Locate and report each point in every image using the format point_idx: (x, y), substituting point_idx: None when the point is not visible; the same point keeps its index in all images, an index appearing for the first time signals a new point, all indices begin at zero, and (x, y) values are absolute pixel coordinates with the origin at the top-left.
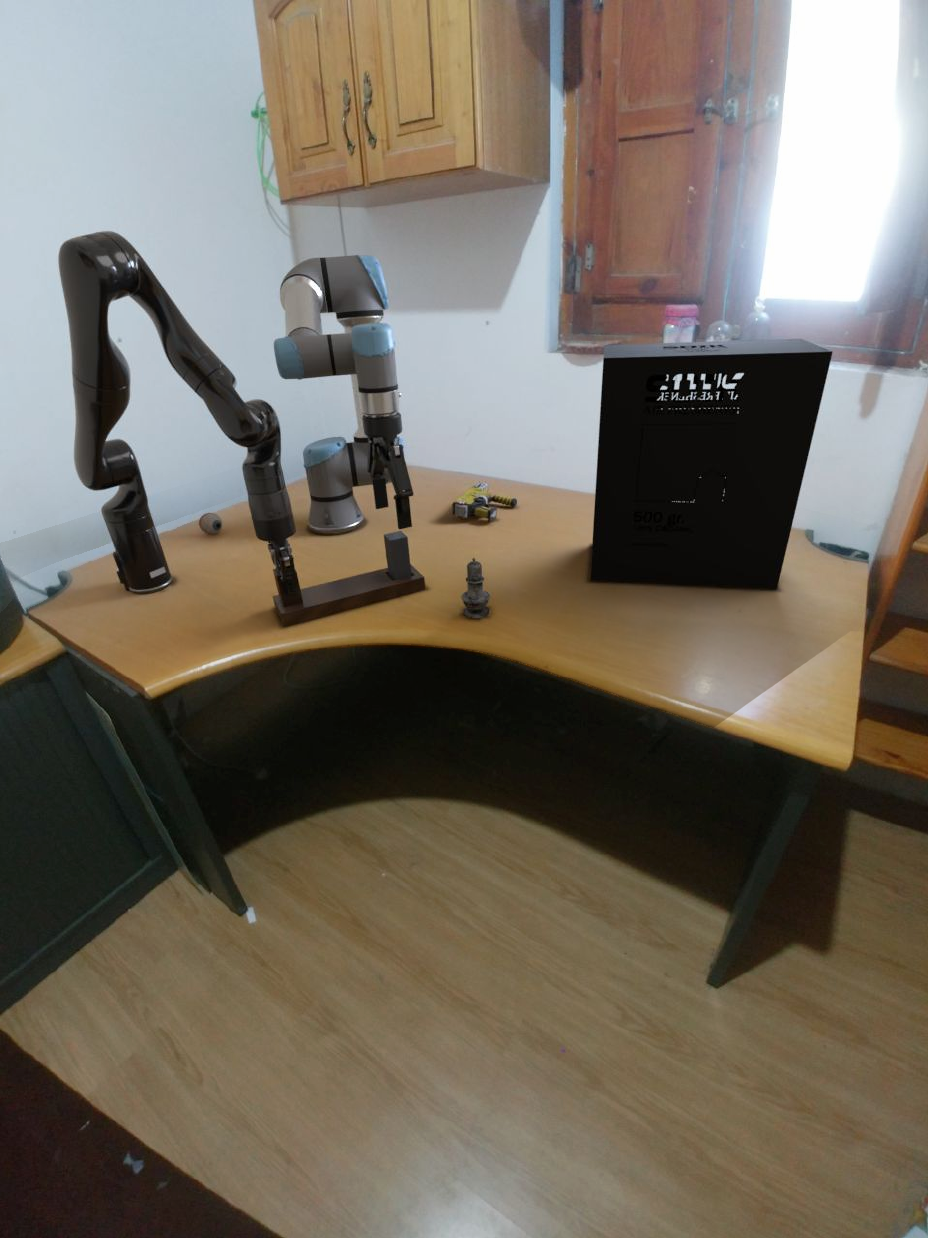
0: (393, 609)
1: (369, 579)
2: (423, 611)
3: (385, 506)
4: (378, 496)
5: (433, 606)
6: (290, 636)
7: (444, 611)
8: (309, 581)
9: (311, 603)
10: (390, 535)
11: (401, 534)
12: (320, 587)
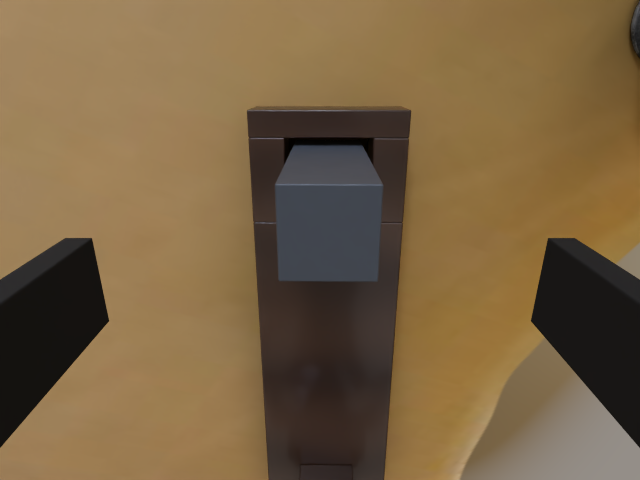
0: (463, 248)
1: (313, 285)
2: (536, 176)
3: (93, 264)
4: (52, 358)
5: (530, 134)
6: (427, 476)
7: (585, 117)
8: (155, 387)
9: (371, 451)
10: (313, 257)
11: (334, 202)
12: (287, 413)
